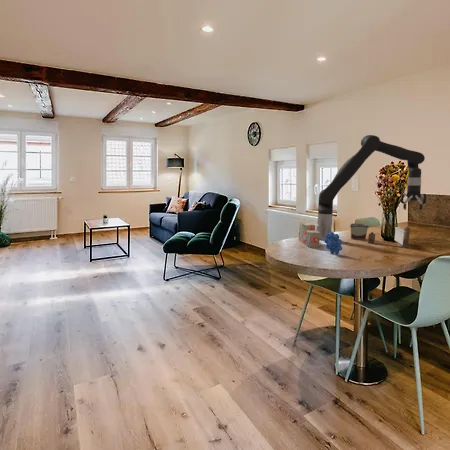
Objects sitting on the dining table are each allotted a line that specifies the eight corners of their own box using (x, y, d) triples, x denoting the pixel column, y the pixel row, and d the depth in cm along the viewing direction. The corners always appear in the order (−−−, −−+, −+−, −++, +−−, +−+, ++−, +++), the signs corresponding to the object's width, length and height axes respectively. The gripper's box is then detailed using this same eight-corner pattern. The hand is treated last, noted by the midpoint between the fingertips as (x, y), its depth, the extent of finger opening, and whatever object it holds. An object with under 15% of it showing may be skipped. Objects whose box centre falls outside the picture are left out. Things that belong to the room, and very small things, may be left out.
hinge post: (407, 248, 207) (409, 227, 205) (401, 247, 209) (403, 226, 207) (408, 247, 209) (411, 226, 207) (403, 246, 211) (405, 226, 209)
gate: (405, 245, 211) (407, 231, 209) (402, 245, 211) (403, 231, 210) (397, 240, 228) (398, 227, 227) (393, 239, 229) (395, 226, 227)
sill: (400, 247, 209) (400, 246, 209) (374, 243, 220) (374, 242, 220) (402, 246, 212) (402, 245, 212) (377, 242, 223) (377, 241, 223)
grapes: (318, 252, 191) (320, 231, 189) (326, 250, 195) (327, 230, 193) (336, 256, 182) (338, 234, 180) (344, 255, 186) (346, 233, 184)
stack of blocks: (319, 247, 203) (320, 227, 201) (308, 247, 203) (310, 227, 201) (307, 240, 224) (308, 222, 222) (298, 240, 224) (299, 221, 222)
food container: (365, 237, 239) (366, 223, 237) (367, 239, 233) (369, 225, 231) (346, 237, 240) (347, 223, 238) (348, 238, 234) (350, 224, 232)
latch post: (372, 243, 219) (373, 232, 218) (367, 243, 221) (368, 232, 220) (374, 243, 221) (375, 232, 220) (370, 242, 223) (371, 231, 222)
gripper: (402, 184, 219) (401, 210, 221) (428, 184, 214) (426, 210, 216) (400, 184, 226) (399, 209, 228) (425, 184, 221) (423, 209, 223)
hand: (412, 209), depth 222 cm, fingers open, 8 cm apart
